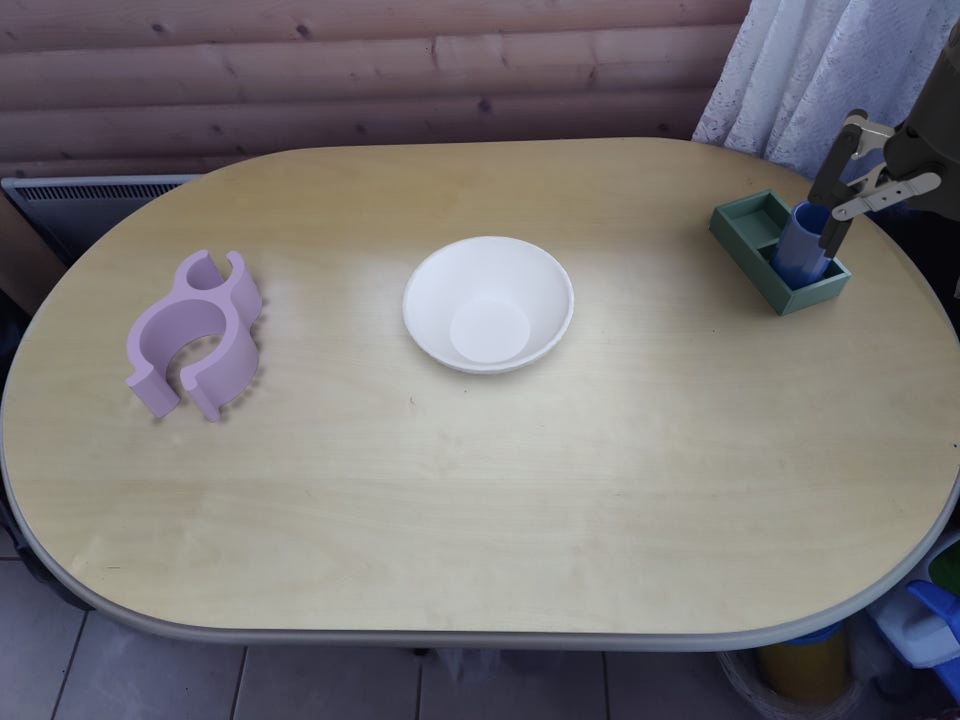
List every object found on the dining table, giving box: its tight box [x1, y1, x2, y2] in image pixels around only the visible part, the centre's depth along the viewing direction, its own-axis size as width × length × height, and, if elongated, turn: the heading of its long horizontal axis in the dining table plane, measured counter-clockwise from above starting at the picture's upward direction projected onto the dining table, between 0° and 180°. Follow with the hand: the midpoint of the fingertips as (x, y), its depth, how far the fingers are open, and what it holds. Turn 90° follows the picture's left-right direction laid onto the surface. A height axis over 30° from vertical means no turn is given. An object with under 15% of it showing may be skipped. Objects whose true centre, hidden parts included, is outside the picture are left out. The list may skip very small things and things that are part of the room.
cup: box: [768, 199, 831, 292], centre depth 80 cm, size 6×6×10 cm
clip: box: [125, 248, 263, 423], centre depth 81 cm, size 20×12×7 cm, turn 174°
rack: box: [708, 188, 853, 317], centre depth 85 cm, size 8×16×4 cm, turn 21°
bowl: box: [401, 235, 575, 376], centre depth 80 cm, size 20×20×7 cm
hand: (893, 270), depth 48 cm, fingers open, 8 cm apart
